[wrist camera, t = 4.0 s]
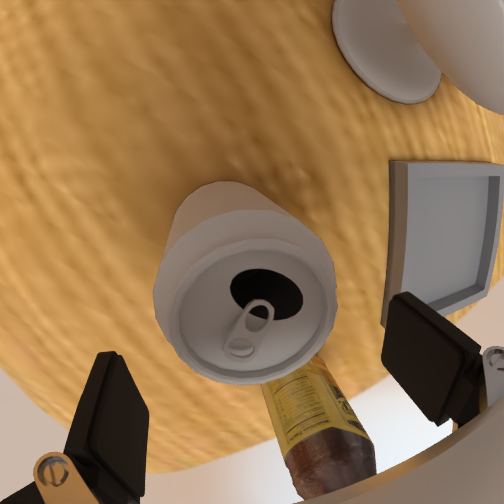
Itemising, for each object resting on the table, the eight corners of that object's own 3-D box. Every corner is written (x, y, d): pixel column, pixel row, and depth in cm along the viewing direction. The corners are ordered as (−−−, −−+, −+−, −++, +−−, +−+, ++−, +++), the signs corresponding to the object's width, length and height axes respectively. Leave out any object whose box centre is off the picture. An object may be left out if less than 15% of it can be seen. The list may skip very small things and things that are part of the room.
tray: (388, 160, 21) (407, 163, 19) (488, 162, 23) (504, 165, 21) (380, 324, 27) (393, 337, 25) (474, 287, 29) (486, 296, 27)
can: (293, 211, 21) (389, 279, 10) (243, 294, 23) (284, 413, 12) (203, 160, 19) (211, 174, 8) (155, 253, 20) (120, 364, 9)
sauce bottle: (318, 378, 28) (404, 538, 10) (261, 394, 27) (320, 572, 9) (318, 331, 26) (436, 518, 7) (251, 347, 25) (326, 569, 7)
